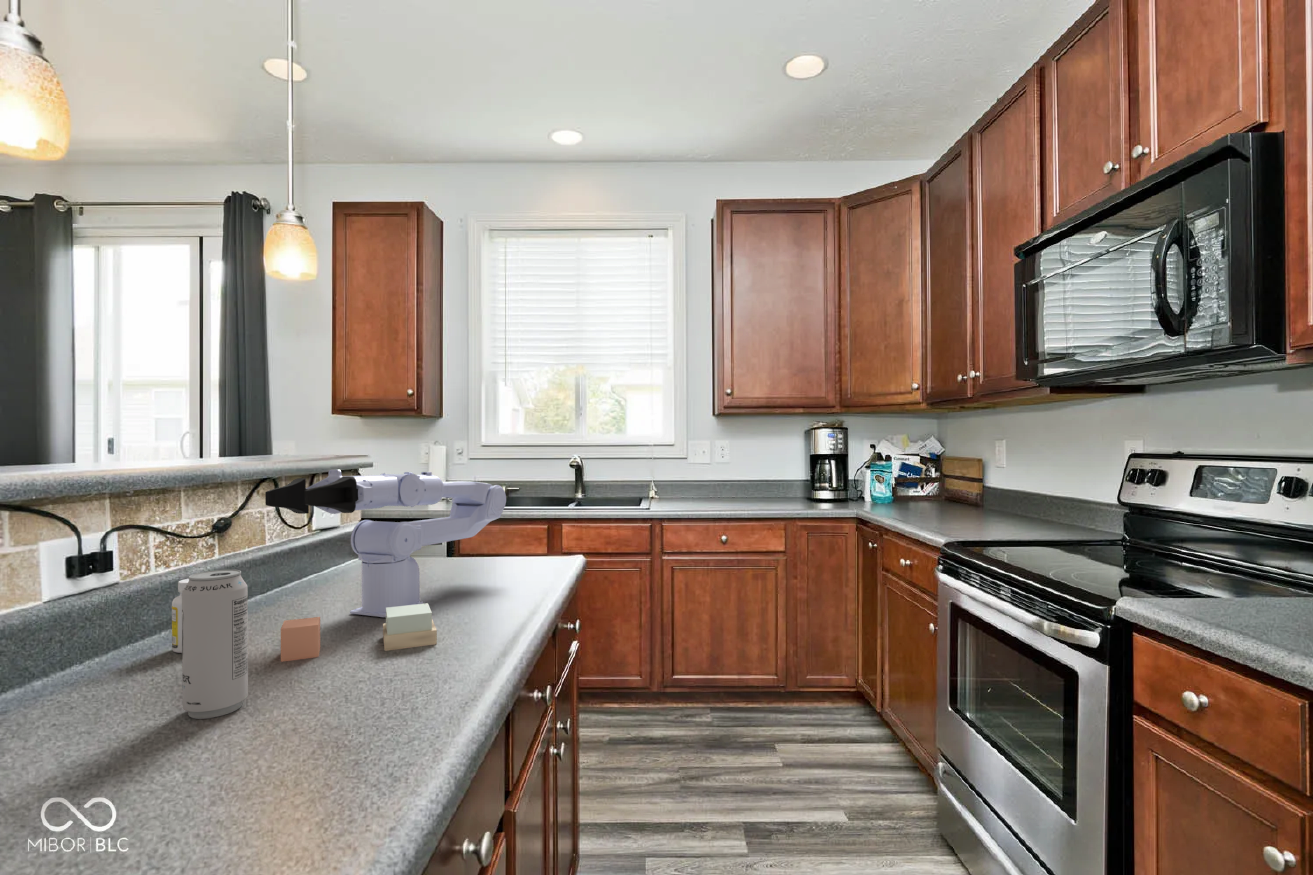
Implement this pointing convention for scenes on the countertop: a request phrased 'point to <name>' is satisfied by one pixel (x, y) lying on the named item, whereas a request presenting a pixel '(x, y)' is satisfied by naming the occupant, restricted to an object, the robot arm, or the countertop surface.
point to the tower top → (408, 619)
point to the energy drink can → (214, 643)
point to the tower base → (409, 639)
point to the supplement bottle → (177, 618)
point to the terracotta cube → (300, 639)
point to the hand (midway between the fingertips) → (286, 498)
